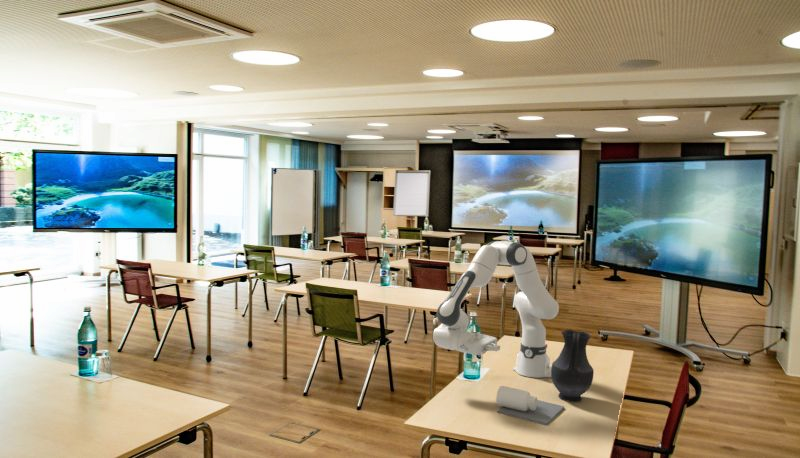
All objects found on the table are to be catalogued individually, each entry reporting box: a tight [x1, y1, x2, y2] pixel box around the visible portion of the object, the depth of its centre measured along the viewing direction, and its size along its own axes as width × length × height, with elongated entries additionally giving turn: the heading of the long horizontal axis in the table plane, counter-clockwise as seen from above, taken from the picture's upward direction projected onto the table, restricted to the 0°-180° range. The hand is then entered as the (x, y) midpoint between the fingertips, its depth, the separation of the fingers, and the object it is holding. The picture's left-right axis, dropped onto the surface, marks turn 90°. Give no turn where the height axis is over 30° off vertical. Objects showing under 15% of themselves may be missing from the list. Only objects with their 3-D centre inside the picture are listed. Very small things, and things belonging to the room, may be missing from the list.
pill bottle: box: [496, 385, 538, 411], centre depth 237 cm, size 8×8×15 cm
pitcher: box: [550, 329, 595, 403], centre depth 253 cm, size 17×21×30 cm
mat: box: [496, 399, 565, 426], centre depth 239 cm, size 22×20×1 cm
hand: (498, 348), depth 245 cm, fingers closed
